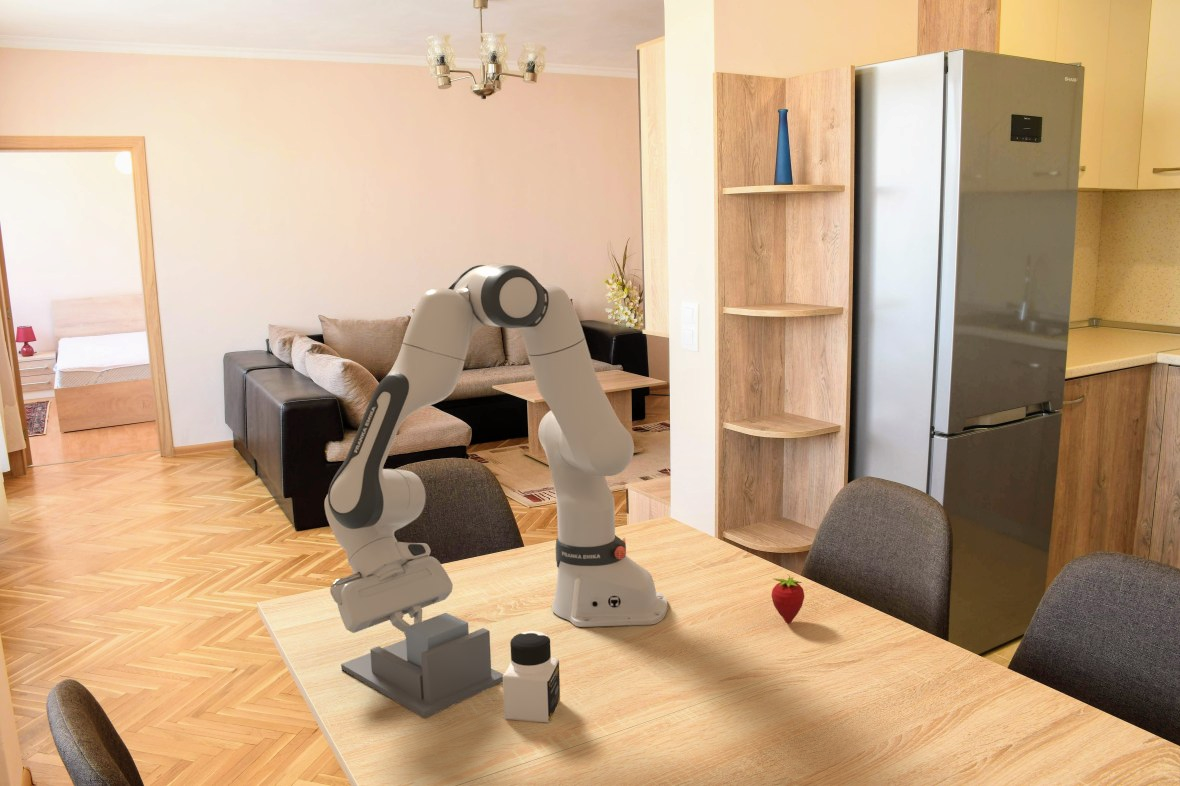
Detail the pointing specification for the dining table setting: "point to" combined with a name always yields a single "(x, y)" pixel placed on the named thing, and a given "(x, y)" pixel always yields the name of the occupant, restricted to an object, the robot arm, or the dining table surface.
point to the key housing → (429, 673)
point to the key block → (432, 635)
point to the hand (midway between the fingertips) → (417, 635)
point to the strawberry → (788, 598)
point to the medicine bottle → (531, 679)
